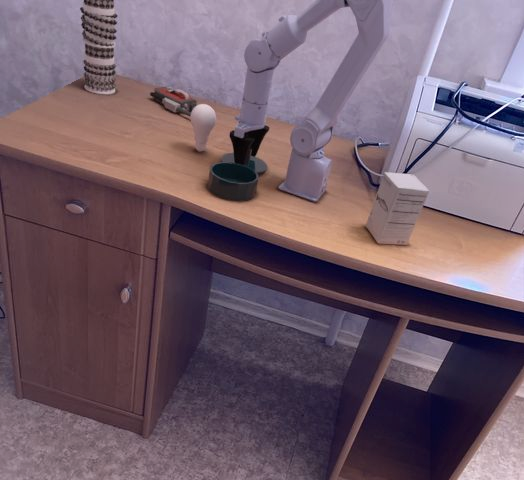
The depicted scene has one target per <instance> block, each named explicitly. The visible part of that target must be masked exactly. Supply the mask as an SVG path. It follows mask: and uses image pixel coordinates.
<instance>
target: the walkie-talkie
mask: <svg viewBox="0 0 524 480" xmlns="http://www.w3.org/2000/svg"><path fill="white" fill-rule="evenodd" d="M153 91H154V92H153ZM153 91H150V92H149V96H150V97H153V100H154V101H155V102H157V103H158V104H161V105H163V106H164V108H165V109H167V110H169V111H170V112H173V113H180V114H184V115H186V116H188V117H190V116H191V112H192V110H193V109H194V108H195V107H196V106H197V105H198V104H197V102H198V101H197V100H196V99H195V98H193V97H191V95H190V93H189V92H187V91H185V90H183V89H181V88H177V89H173V86H162V87H156V88H154V90H153Z"/></svg>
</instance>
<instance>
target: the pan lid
mask: <svg viewBox="0 0 524 480" xmlns="http://www.w3.org/2000/svg"><path fill="white" fill-rule="evenodd" d="M251 151H252V148H251V147H250V148H249V151H248V154H247V157H246V160H245V163H244V166H247V167H249V168H251V169H253V170H254V171H255V172H256V173H257V174H258V175H261V174H264V173H266V171H267V170H268V165H267V163H266V162H265V161H264V160H262V159H261V158H260V157H258V156H255V157H253V156H251ZM220 162H232V163H235V162H234V152H228V153H225V154H223V155H222V156H221V158H220Z"/></svg>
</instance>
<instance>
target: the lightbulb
mask: <svg viewBox="0 0 524 480" xmlns="http://www.w3.org/2000/svg"><path fill="white" fill-rule="evenodd" d="M196 105H197V106H196V107H195V108H194V109H193V110H192V111H190V113H191V116H189V117H190V123H191V125H192V127H193V132H194V140H195V142H194V149H195V150H197V152H200V153H201V152H204V151H205V150H206V147H207V142H209V137H210V134H211V132H212V131H213V129H214V127H215V126H216V123H217V113H216V112H215V110H214V108H212V107H211V106H210V105H208V104H206V103H200V104H196Z"/></svg>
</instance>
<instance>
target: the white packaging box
mask: <svg viewBox="0 0 524 480" xmlns="http://www.w3.org/2000/svg"><path fill="white" fill-rule="evenodd" d="M429 193H430V189H429V188H428V187H426V186H425V184H424V183H422V181H421V180H420V179H419V178H417V176H416V175H415V174H411V173H401V172H390V171H385V172H384V173H383V175H382V178H381V181H380V183H379V186H378V189H377V192H376V195H375V197H374V201H373V203H372V205H371V209H370V211H369V215H368V218H367V220H366V224H365V228H367V230H368V231H369V233H370V234H371V235H372V237H373V238H374V240H375V241H376V243H377V244H382V245H397V246H398V245H399V246H407V245H408V244H409V240H410V238H411V236H412V233H413V230H414V229H415V226H416V224H417V221H418V219H419V217H420V215H421V212H422V210H423V207H424V205H425V203H426V200H427V199H428V195H429Z"/></svg>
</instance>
